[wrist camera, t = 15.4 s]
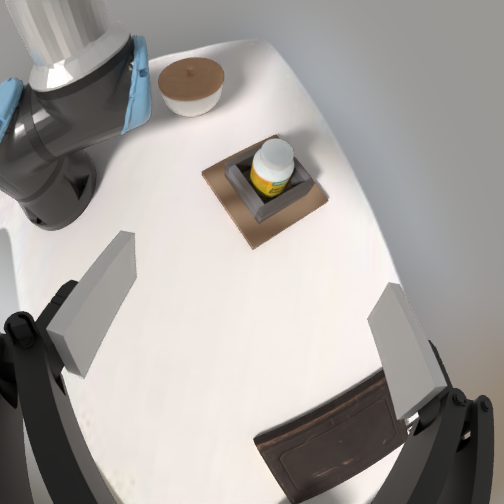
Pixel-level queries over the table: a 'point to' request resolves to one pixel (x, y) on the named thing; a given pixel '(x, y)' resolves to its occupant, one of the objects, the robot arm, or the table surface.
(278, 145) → the supplement bottle
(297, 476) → the hardcover book
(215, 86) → the lidded jar
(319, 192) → the wooden square holder
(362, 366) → the table surface
